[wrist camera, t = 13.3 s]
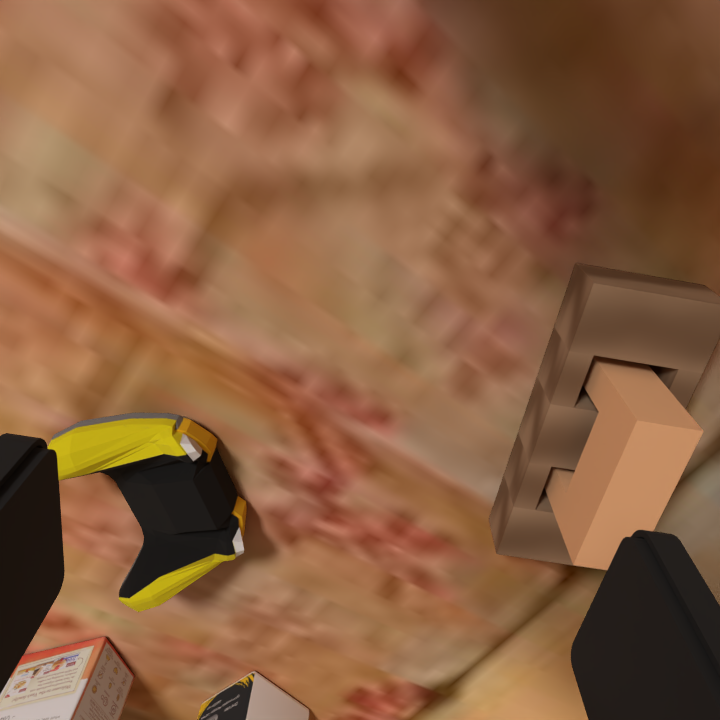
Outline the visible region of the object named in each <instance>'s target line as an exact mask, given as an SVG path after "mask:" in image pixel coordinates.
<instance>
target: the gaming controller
mask: <svg viewBox="0 0 720 720" xmlns="http://www.w3.org/2000/svg"><path fill="white" fill-rule="evenodd" d="M216 444H217V438H216V437H215V436H213V435H212V434H211V433H210V432H208V431H207V430H205V429H204V428H202V427H201V426H199V425H198V424H196V423H195V422H193V421H192V420H190V419H188V418H186V417H181V416H179V415H175V414H169V413H129V414H122V415H116V416H110V417H103V418H97V419H91V420H84V421H80V422H78V423H76V424H74V425H72V426H70V427H68V428H66V429H64V430H63V431H61V432H59V433H57V434H55V435H54V436H53V438H52V440H51V441H50V443H49V445H48V447H47V449H52V450H55V452H56V454H57V463H58V478H59V480H64V479H69V478H74V477H79V476H84V475H88V474H93V473H98V472H101V473H104V474H107V475H109V476H110V477H111V478H112V479H113V480H114V481H115V482H116V483H117V485H118V487H119V489H120V490H121V492H122V494H123V496H124V497H125V499H126V501H127V503H128V505H129V506H130V508H131V510H132V512H133V513H134V515H135V517H136V519H137V520H138V522H139V524H140V526H141V528H142V531H143V535H144V543H143V546H142V548H141V550H140V552H139V554H138V556H137V558H136V560H135V562H134V563H133V565H132V567H131V569H130V571H129V573H128V574H127V576H126V578H125V580H124V582H123V583H122V586H121V588H120V591H119V600H120V601H121V602H122V603H123V604H125V605H126V606H128V607H130V608H132V609H134V610H136V611H138V612H140V611H144V610H147V609H150V608H153V607H156V606H159V605H161V604H162V603H164V602H166V601H167V600H169V599H170V598H172V597H173V596H174V595H176V594H177V593H178V592H180V591H181V590H183V589H184V588H186V587H187V586H188V585H190V584H191V583H193V582H194V581H196V580H197V579H199V578H200V577H202V576H203V575H204V574H206V573H207V572H209V571H210V570H212V569H213V568H215V567H216V566H218V565H219V564H221V563H222V562H223V561H229V560H234V559H235V558H236V557H237V556H239V555H241V554H243V553H244V547H243V541H242V539H243V536H244V532H245V522H246V511H247V508H246V501H245V500H243V499H242V498H240V497H239V496H238V494H237V492H236V489H235V487H234V485H233V483H232V481H231V479H230V476H229V474H228V472H227V470H226V468H225V466H224V463H223V461H222V459H221V457H220V455H219V453H218V451H217V448H216Z"/></svg>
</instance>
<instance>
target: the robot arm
mask: <svg viewBox="0 0 720 720" xmlns="http://www.w3.org/2000/svg"><path fill="white" fill-rule="evenodd" d="M63 579H64V556H63V541H62V525H61V509H60V494H59V478H58V463H57V454H56V452H55V450H52V449H47V444H46V442H45V440H43V439H41V438H35V437H28V436H22V435H15V434H9V433H6V434H2V435H1V436H0V694H1V692H2V690H3V689H4V687H5V685H6V684H7V682H8V680H9V678H10V677H11V675H12V673H13V672H14V670H15V668H16V666H17V665H18V663H19V661H20V660H21V658H22V656H23V654H24V653H25V651H26V649H27V647H28V646H29V644H30V642H31V641H32V639H33V637H34V635H35V634H36V632H37V630H38V629H39V627H40V625H41V623H42V622H43V620H44V618H45V617H46V615H47V613H48V611H49V610H50V608H51V606H52V604H53V603H54V601H55V599H56V598H57V596H58V594H59V592H60V589H61V587H62V583H63ZM571 663H572V668H573V671H574V674H575V677H576V681H577V684H578V687H579V690H580V694H581V697H582V700H583V703H584V706H585V710H586V713H587V716H588V719H589V720H720V606H719V604H718V602H717V601H716V599H715V597H714V596H713V594H712V592H711V591H710V589H709V588H708V586H707V584H706V583H705V581H704V579H703V578H702V576H701V574H700V573H699V571H698V569H697V568H696V566H695V564H694V563H693V561H692V559H691V558H690V556H689V554H688V553H687V551H686V549H685V548H684V546H683V545H682V543H681V541H680V540H679V539H678V538H677V537H676V536H674V535H672V534H667V533H660V532H653V531H647V530H637V531H635V532H634V533H633V534H632V536H631V537H625V538H623V540H622V541H621V543H620V545H619V547H618V549H617V551H616V553H615V555H614V557H613V560H612V562H611V564H610V566H609V568H608V570H607V572H606V574H605V576H604V579H603V581H602V583H601V585H600V587H599V589H598V591H597V593H596V595H595V597H594V600H593V602H592V604H591V606H590V608H589V610H588V612H587V614H586V616H585V619H584V621H583V623H582V625H581V627H580V629H579V631H578V633H577V635H576V638H575V640H574V642H573V645H572V649H571Z"/></svg>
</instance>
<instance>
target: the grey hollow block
mask: <svg viewBox="0 0 720 720" xmlns="http://www.w3.org/2000/svg"><path fill="white" fill-rule="evenodd" d="M719 338H720V296H718V295H717V294H716V293H714V292H713V291H712V290H710V289H709V288H708V287H706V286H705V285H700V284H694V283H689V282H683V281H677V280H671V279H666V278H660V277H654V276H648V275H643V274H637V273H631V272H625V271H620V270H614V269H608V268H602V267H597V266H591V265H585V264H579V263H576V264H575V267H574V270H573V273H572V275H571V278H570V281H569V284H568V287H567V290H566V293H565V296H564V299H563V302H562V305H561V308H560V311H559V314H558V317H557V320H556V323H555V326H554V329H553V332H552V334H551V337H550V340H549V343H548V346H547V349H546V352H545V355H544V358H543V361H542V364H541V367H540V370H539V373H538V376H537V379H536V382H535V385H534V388H533V390H532V393H531V396H530V399H529V402H528V405H527V408H526V411H525V414H524V417H523V420H522V423H521V426H520V429H519V432H518V435H517V438H516V441H515V444H514V446H513V449H512V452H511V455H510V458H509V461H508V464H507V467H506V470H505V473H504V476H503V479H502V482H501V485H500V488H499V491H498V494H497V497H496V500H495V502H494V505H493V508H492V511H491V514H490V517H489V523H490V527H491V532H492V536H493V540H494V545H495V549H496V553H497V554H500V555H507V556H513V557H520V558H527V559H534V560H540V561H547V562H554V563H561V564H567V565H573V563H572V561H571V558H570V555H569V552H568V550H567V547H566V544H565V542H564V539H563V536H562V534H561V531H560V528H559V526H558V523H557V520H556V517H555V515H554V512H553V509H552V507H551V504H550V501H549V499H548V496H547V493H546V491H545V488H544V485H545V482H546V480H547V477H548V475H549V472H550V469H551V467H558V468H564V469H571V470H575V469H576V467H577V464H578V462H579V460H580V457H581V455H582V452H583V450H584V447H585V445H586V442H587V440H588V437H589V435H590V432H591V430H592V428H593V425H594V423H595V420H596V418H597V415H598V413H599V411H598V410H597V408H596V406H595V405H594V403H593V401H592V400H591V398H590V396H589V395H588V393H587V391H586V390H585V388H584V386H583V382H584V380H585V377H586V374H587V372H588V369H589V366H590V364H591V361H592V359H593V356H594V355H595V356H601V357H607V358H613V359H619V360H625V361H631V362H637V363H643V364H648V365H649V367H650V368H651V369H652V370H653V371H654V373H655V374H656V375H657V376H658V377H659V379H660V380H661V381H662V382H663V383H664V385H665V386H666V387H667V388H668V389H669V391H670V392H671V393H672V394H673V395H674V397H675V398H676V399H677V400H678V401H679V402H680V404H681V405H682V406H683V407H684V408H685V409H686V407H687V405H688V403H689V401H690V399H691V397H692V395H693V393H694V391H695V388H696V386H697V384H698V382H699V380H700V378H701V376H702V374H703V372H704V369H705V367H706V365H707V363H708V361H709V359H710V357H711V355H712V353H713V351H714V348H715V346H716V344H717V342H718V340H719ZM574 566H576V565H574ZM581 567H583V566H581ZM588 568H589V567H588ZM594 569H596V568H594ZM601 570H603V569H601Z"/></svg>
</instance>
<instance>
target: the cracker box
mask: <svg viewBox="0 0 720 720" xmlns="http://www.w3.org/2000/svg"><path fill="white" fill-rule="evenodd" d="M134 678H135V676H134V674H133V673H132V672H131V670H130V669H129V668H128V667H127V665H126V664H125V662H124V661H123V660H122V658H121V657H120V656H119V654H118V653H117V652H116V650H115V649H114V648H113V646H112V645H111V644H110V642H109V641H108V640H107V638H106V637H100V638H96V639H92V640H88V641H83V642H79V643H75V644H70V645H66V646H62V647H57V648H53V649H49V650H45V651H40V652H36V653H32V654H28V655H23V656H22V658H21V660H20V661H19V663H18V665H17V666H16V668H15V670H14V672H13V673H12V675H11V677H10V678H9V680H8V682H7V684H6V685H5V687H4V689H3V690H2V692H1V694H0V720H119V719H120V716H121V714H122V711H123V708H124V705H125V703H126V700H127V697H128V694H129V692H130V689H131V686H132V683H133V681H134Z"/></svg>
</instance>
